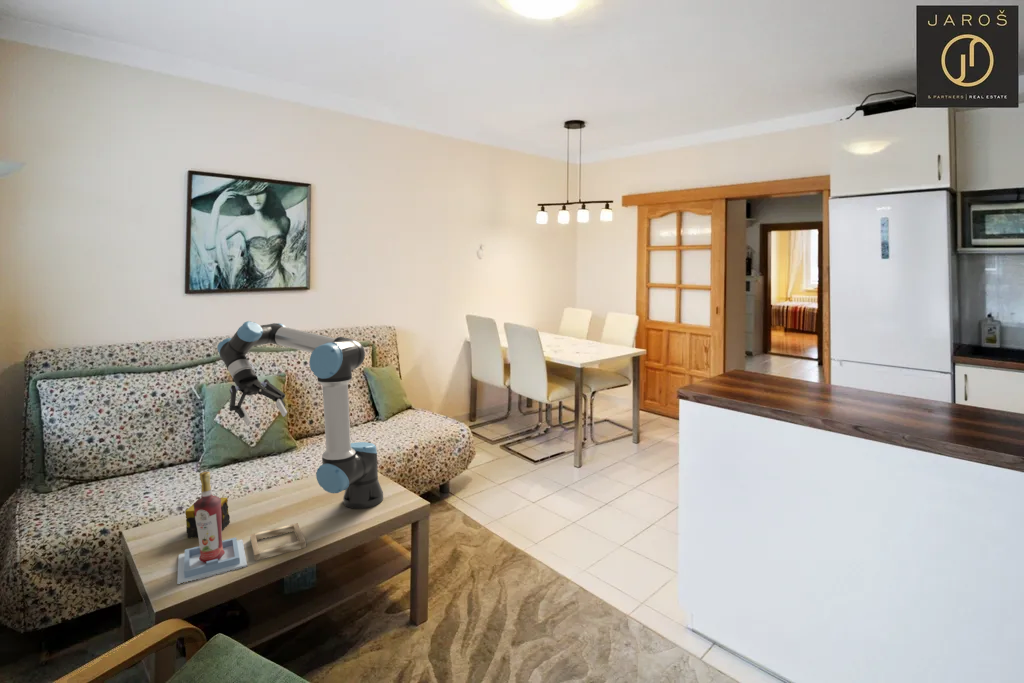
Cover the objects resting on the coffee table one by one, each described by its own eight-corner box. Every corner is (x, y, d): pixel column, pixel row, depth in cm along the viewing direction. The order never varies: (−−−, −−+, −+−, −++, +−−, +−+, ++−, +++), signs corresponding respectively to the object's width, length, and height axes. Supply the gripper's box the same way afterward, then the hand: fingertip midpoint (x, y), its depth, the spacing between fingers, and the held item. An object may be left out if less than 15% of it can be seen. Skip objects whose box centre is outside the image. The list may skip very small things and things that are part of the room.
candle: (201, 524, 185) (199, 497, 184) (230, 523, 186) (228, 496, 185) (186, 538, 175) (183, 510, 174) (217, 537, 176) (214, 509, 175)
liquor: (230, 552, 165) (223, 468, 161) (217, 565, 157) (210, 477, 154) (207, 553, 165) (199, 469, 161) (193, 566, 157) (185, 478, 154)
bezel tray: (242, 540, 173) (241, 531, 173) (247, 566, 158) (246, 555, 158) (178, 556, 164) (177, 546, 164) (177, 585, 149) (176, 574, 148)
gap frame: (298, 528, 181) (297, 522, 181) (305, 547, 169) (305, 541, 168) (250, 540, 174) (250, 534, 173) (255, 560, 161) (254, 554, 161)
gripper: (271, 374, 206) (295, 416, 199) (205, 386, 186) (229, 433, 179) (277, 362, 202) (302, 405, 195) (210, 373, 182) (236, 421, 175)
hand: (267, 419), depth 187 cm, fingers open, 13 cm apart
